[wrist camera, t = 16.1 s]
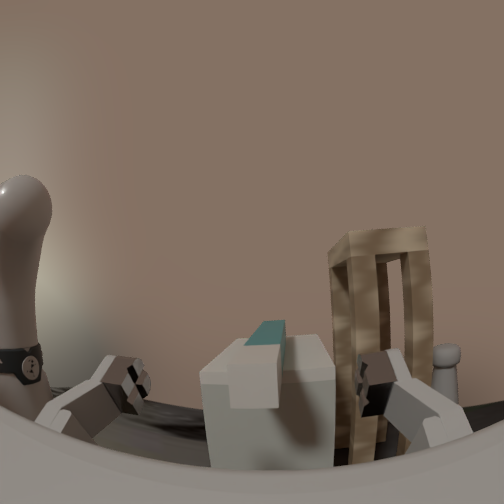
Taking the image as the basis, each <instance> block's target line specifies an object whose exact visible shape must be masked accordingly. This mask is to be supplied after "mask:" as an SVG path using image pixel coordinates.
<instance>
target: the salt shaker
mask: <svg viewBox="0 0 504 504" xmlns="http://www.w3.org/2000/svg"><path fill="white" fill-rule="evenodd" d="M460 357H461V350H460V347H459V346H458V345H456V344H449V343H448V344H441V345H437V346H435V347H433V366H434V368H433V372H432V382H431V388H432V389H434V390H435V391H437V392H439V393H440V394H442V395H443V396H445V397H446V398H448V399H450V400H451V401H453V402H454V403H456V404H457V405H458V383H457V369H456V364H458V363H459V362H460Z"/></svg>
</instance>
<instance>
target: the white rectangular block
mask: <svg viewBox="0 0 504 504" xmlns="http://www.w3.org/2000/svg"><path fill="white" fill-rule="evenodd" d="M248 339H249V338H242V339H241V338H240V339H236V340H235V341H234V342H233V343H232V344H231V345H229V346H228V347H227V348H226V349H225V350H224V351H223V352H222V353H221V354H219V355H218V356H217V357H216V358H215V359H214V360H212V361H211V362H210V363H209V364H208V365H207V366H206V367H204V368H203V369H202V370H201V371H200V372H199V374H200V384H201V393H202V402H203V411H204V419H205V427H206V435H207V442H208V449H209V456H210V462H211V468H221V469H236V470H301V469H316V468H327V467H333V462H334V442H335V397H336V383H335V365H334V363H333V362H332V360H331V358H330V356H329V354H328V353H327V351H326V349H325V347H324V346H323V344H322V342H321V340H320V338H319V337H318V335H317V334H311V335H298V336H286V346H285V356H284V366H283V375H282V384H281V393H280V401H279V408H259V409H235V408H230V397H229V386H228V374H227V364H228V362H229V361H230V360H231V359H232V358H233V357H234V356H235V354H236V353H237V352H238V351H239V350H240V349H241V347H242V346H243V345H244V344H245V343H246V342H247V340H248Z"/></svg>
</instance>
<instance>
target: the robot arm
mask: <svg viewBox="0 0 504 504" xmlns="http://www.w3.org/2000/svg"><path fill="white" fill-rule="evenodd" d="M51 216H52V203H51V198H50V195H49V193H48V191H47V189H46V188H45V186H44V185H43V184H42V183H41V182H40V181H39V180H37V179H36V178H34V177H31V176H27V175H19V176H16V177H13V178H11V179H8V180H6V181H5V182H3V183H1V184H0V504H504V420H502V421H500V422H498V423H495V424H493V425H491V426H489V427H486V428H484V429H482V430H479V431H477V432H474V433H473V432H472V429H471V427H470V425H469V422H468V420H467V418H466V415H465V413H464V411H463V409H462V407H460V406H459V405H457V404H456V403H454V402H453V401H451V400H450V399H448V398H446V397H445V396H443V395H442V394H440V393H439V392H437V391H435V390H434V389H432V388H431V387H429V386H428V385H426V384H425V383H423V382H422V381H420V380H418V379H417V378H413V379H412V377H411V374H410V372H409V370H408V367H407V365H406V363H405V360H404V359H403V356H402V354H401V351H400V349H398V348H394V349H388V350H385V351H384V350H382V351H376V352H369V353H362V354H358V357H357V365H358V368H357V369H356V370H355V390H356V395H358V396H359V397H360V398H359V403H358V405H359V409H360V414H361V418H362V417H370V416H377V415H384V417H386V418H387V419H388V420H389V421H390V422H391V423H392V424H393V425H394V426H395V427H396V428H397V429H398V430H399V431H400V432H401V433H402V434H403V435H404V436H405V437H406V438H407V439H408V440H409V441H410V442H411V444H410V446H409V448H408V449H407V451H406V453H405V454H404V455H400V456H396V457H391V458H386V459H381V460H376V461H371V462H365V463H359V464H352V465H344V466H336V467H327V468H316V469H301V470H236V469H221V468H210V467H201V466H192V465H185V464H178V463H172V462H166V461H160V460H155V459H150V458H145V457H140V456H136V455H131V454H127V453H123V452H119V451H115V450H112V449H108V448H105V447H101V446H98V445H97V443H96V442H95V441H94V440H93V439H92V438H93V437H94V436H95V435H97V434H98V433H99V432H100V431H101V430H103V429H104V428H105V427H106V426H107V425H109V424H110V423H111V422H112V421H113V420H115V419H116V418H117V417H118V416H119V415H120V414H121V413H127V414H133V415H139V414H140V412H141V410H142V407H143V405H144V401H143V398H145V397H146V396H148V394H149V391H150V386H151V381H150V377H149V375H148V373H147V372H145V371H144V370H143V367H144V364H143V362H142V360H141V359H139V358H131V357H122V356H113V355H107V356H106V357H105V358H104V360H103V361H102V363H101V364H100V365H99V367H98V368H97V370H96V372H95V373H94V375H93V376H92V378H91V379H90V380H86V381H84V382H82V383H81V384H79V385H77V386H75V387H74V388H72V389H70V390H69V391H67V392H65V393H63V394H62V395H60V396H58V397H56V398H55V399H53V396H52V393H51V389H50V386H49V382H48V379H47V376H46V373H45V372H44V371H43V369H42V365H43V359H42V351H41V346H40V344H39V343H38V340H37V329H36V316H35V287H36V279H37V272H38V267H39V261H40V255H41V248H42V243H43V238H44V235H45V232H46V230H47V228H48V226H49V223H50V220H51Z"/></svg>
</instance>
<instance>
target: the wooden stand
mask: <svg viewBox="0 0 504 504" xmlns="http://www.w3.org/2000/svg"><path fill="white" fill-rule="evenodd" d="M397 259H400V260H401V271H402V282H403V283H402V284H403V298H404V299H403V300H404V326H405V363H406V365H407V367H408V370H409V372H410V374H411V377H412V379H413V378H417V379H418V380H420V381H422V382H423V383H425V384H426V385H428V386H429V387H431V382H432V366H433V301H432V300H433V299H432V283H431V270H430V260H429V251H428V243H427V235H426V228H425V226H420V227H406V228H389V229H376V230H361V231H348V232H347V233H346V234H345V235H344V236H343V237H342V238H341V239H340V240H339V242H338V243H337V244H336V245H335V246H334V247H333V248H332V249H331V250H330V251H329V252H328V264H329V275H330V289H331V306H332V325H333V352H334V365H335V383H336V397H335V442H334V448H335V449H340V448H348V447H349V458H348V465H352V464H359V463H365V462H371V461H374V453H375V444H376V443H378V442H383V441H386V432H387V421H388V419H387V418H386V417H384V415H377V416H370V417H362V418H361V414H360V409H359V405H358V403H359V398H360V397H359V396H358V395H356V390H355V370H356V369H357V368H358V365H357V357H358V354H362V353H369V352H376V351H382V350H384V351H385V350H388V349H391V346H390V345H391V344H390V341H391V339H390V306H389V291H388V276H387V264H386V263H387V262H390V261H393V260H397ZM410 444H411V442H410V441H409V440H408V439H407V438H406V437H405V436H404V435H403V434H402V433H401V432H399V440H398V447H397V454H396V456H400V455H404V454H405V453H406V451H407V449H408V448H409V446H410Z"/></svg>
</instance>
